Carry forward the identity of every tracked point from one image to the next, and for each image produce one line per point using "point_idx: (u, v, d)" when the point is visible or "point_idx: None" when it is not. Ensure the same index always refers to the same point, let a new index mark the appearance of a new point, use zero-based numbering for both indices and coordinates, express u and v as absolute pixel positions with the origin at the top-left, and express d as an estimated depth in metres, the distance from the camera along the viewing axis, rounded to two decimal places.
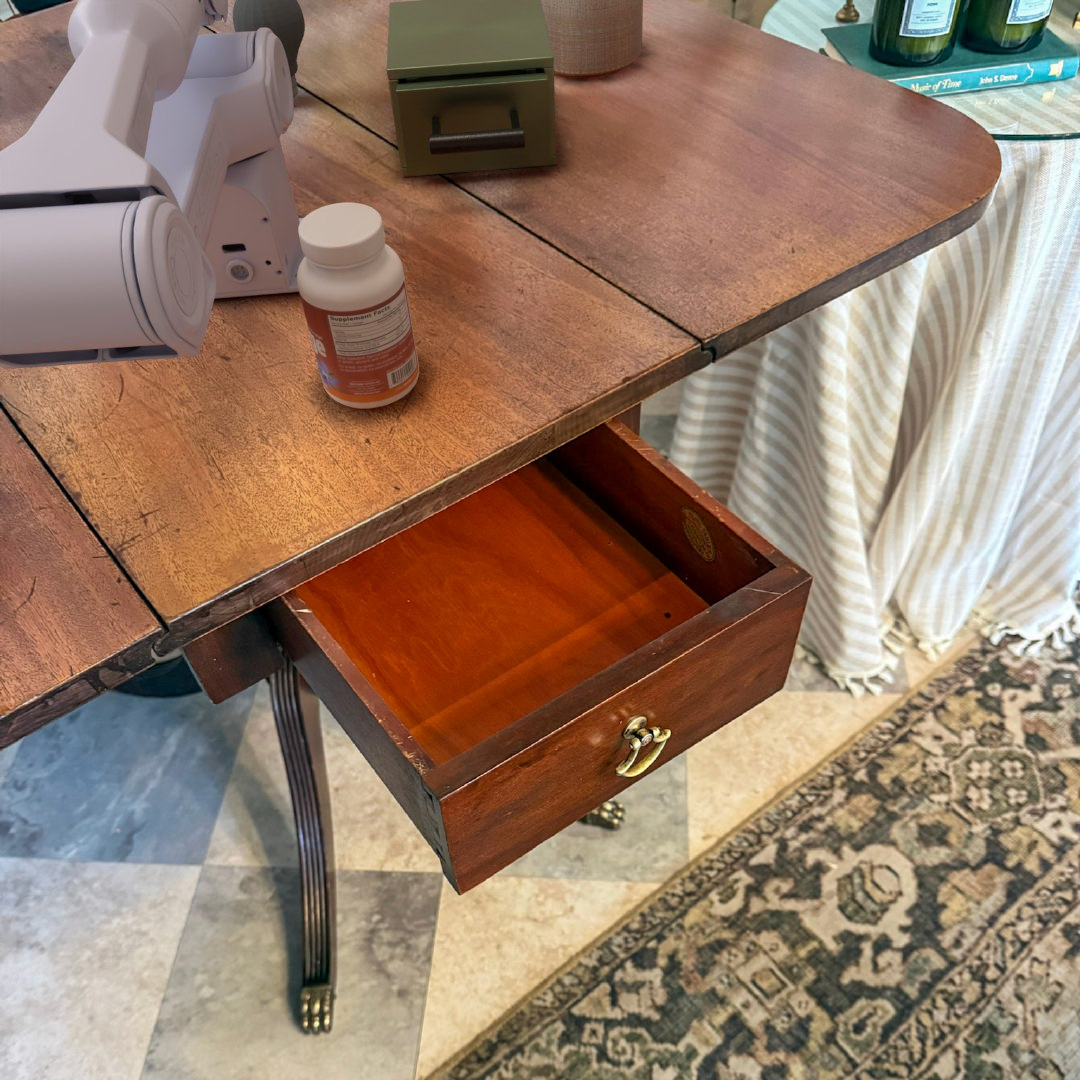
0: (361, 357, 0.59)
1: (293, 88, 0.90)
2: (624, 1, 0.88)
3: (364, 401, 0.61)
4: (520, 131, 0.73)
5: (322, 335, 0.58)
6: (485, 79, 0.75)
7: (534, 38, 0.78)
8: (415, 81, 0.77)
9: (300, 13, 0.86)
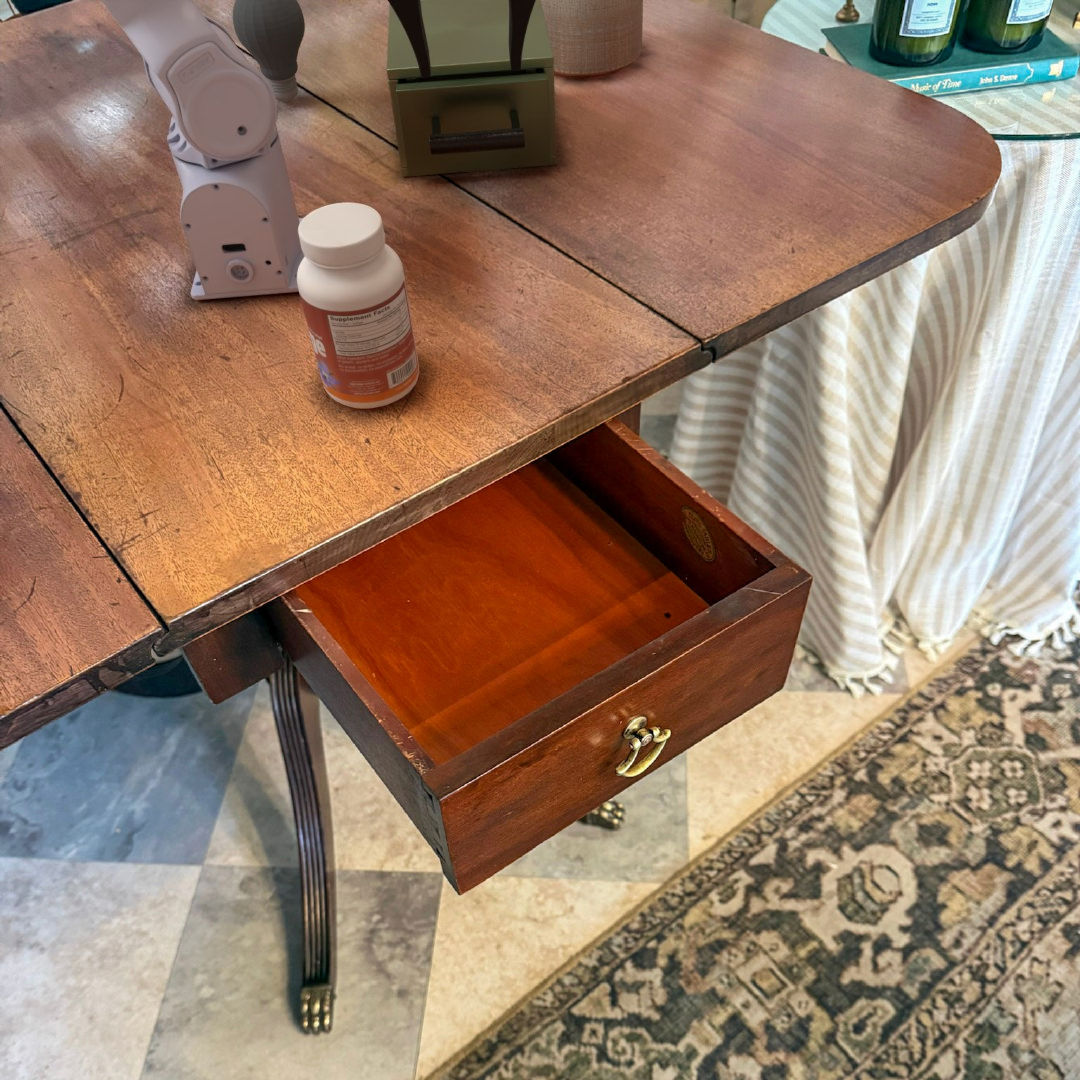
0: (361, 357, 0.59)
1: (293, 88, 0.90)
2: (624, 1, 0.88)
3: (364, 401, 0.61)
4: (520, 131, 0.73)
5: (322, 335, 0.58)
6: (485, 79, 0.75)
7: (534, 38, 0.78)
8: (415, 81, 0.77)
9: (300, 13, 0.86)
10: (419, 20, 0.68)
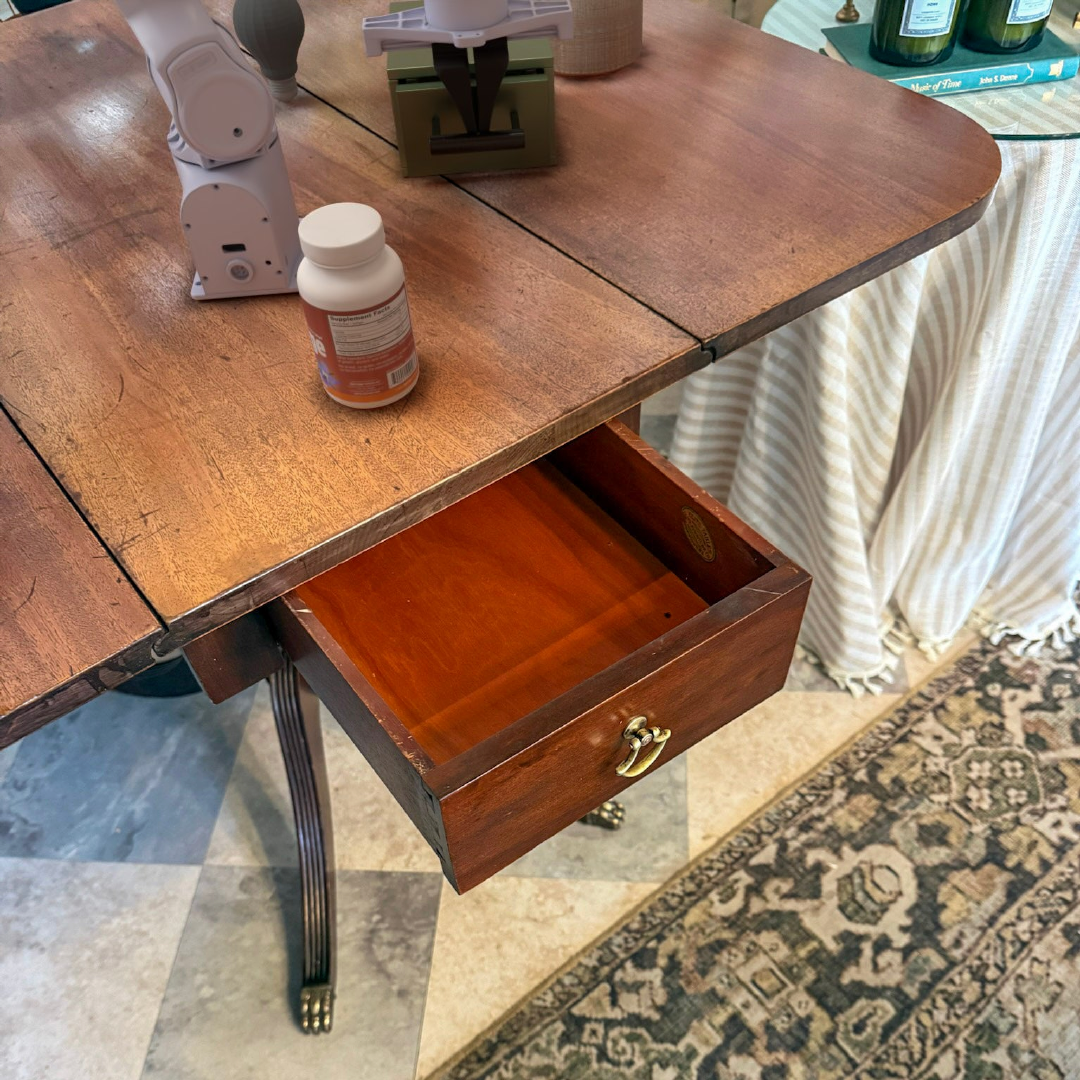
0: (361, 357, 0.59)
1: (293, 88, 0.90)
2: (624, 1, 0.88)
3: (364, 401, 0.61)
4: (520, 132, 0.73)
5: (322, 335, 0.58)
6: None
7: None
8: (415, 82, 0.77)
9: (300, 13, 0.86)
10: (470, 98, 0.72)
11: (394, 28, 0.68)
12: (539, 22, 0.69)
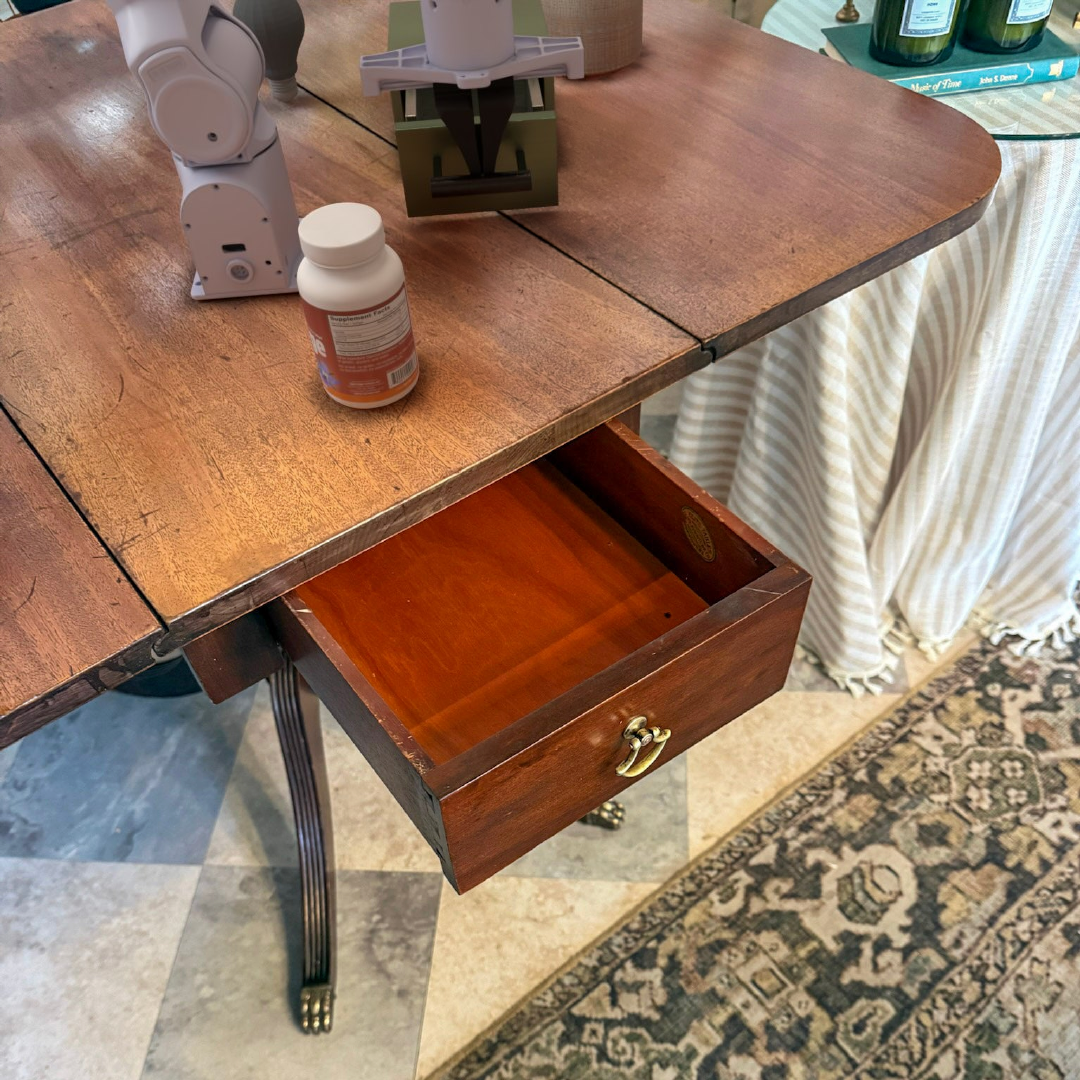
0: (361, 357, 0.59)
1: (293, 88, 0.90)
2: (624, 1, 0.88)
3: (364, 401, 0.61)
4: (527, 174, 0.69)
5: (322, 335, 0.58)
6: None
7: None
8: (415, 119, 0.72)
9: (300, 13, 0.86)
10: (474, 139, 0.68)
11: (393, 67, 0.64)
12: (548, 61, 0.64)
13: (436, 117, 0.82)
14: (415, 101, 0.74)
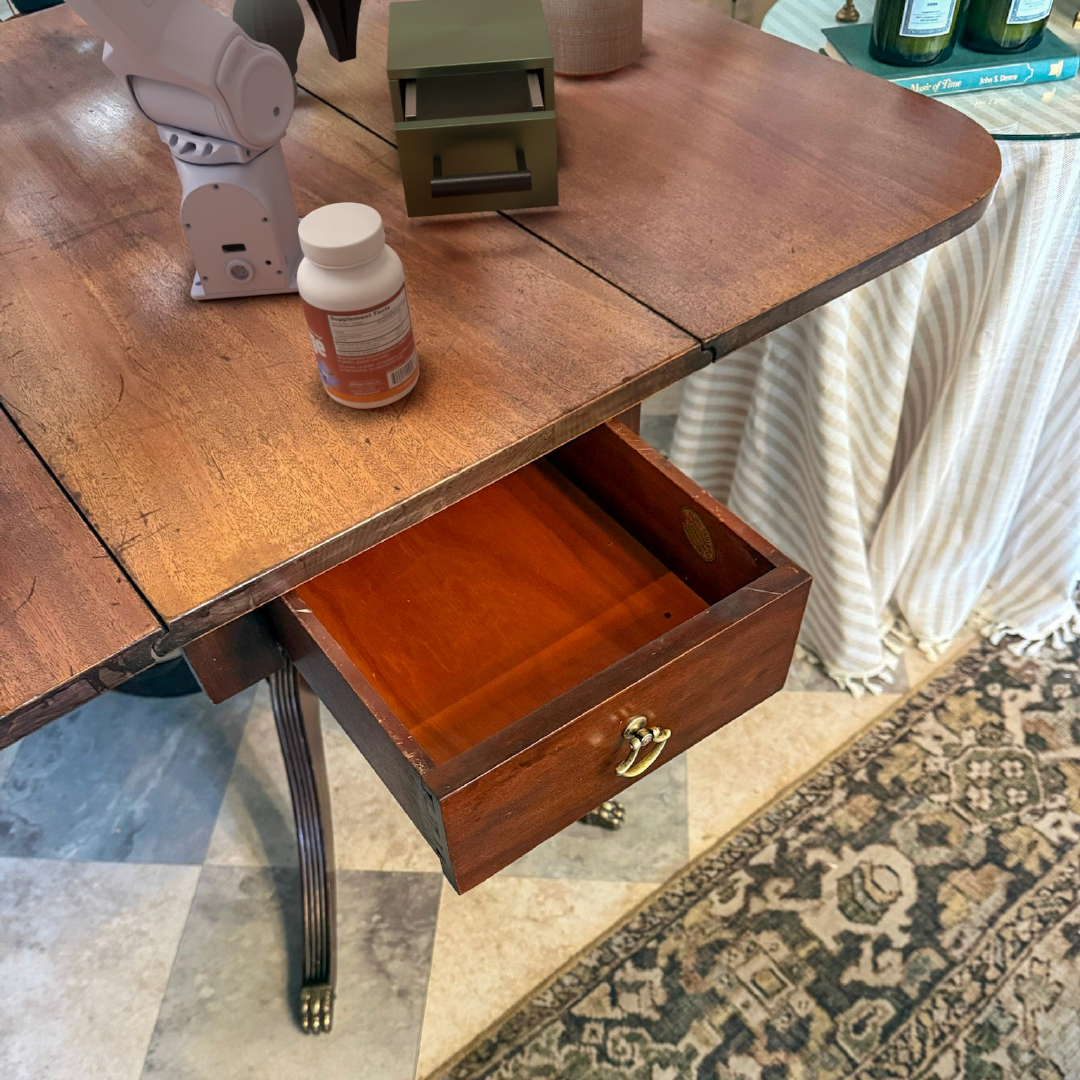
0: (361, 357, 0.59)
1: None
2: (624, 1, 0.88)
3: (364, 401, 0.61)
4: (527, 173, 0.69)
5: (322, 335, 0.58)
6: (489, 117, 0.71)
7: (534, 38, 0.78)
8: (415, 118, 0.72)
9: (300, 13, 0.86)
10: (338, 4, 0.71)
11: None
12: None
13: (436, 117, 0.82)
14: (415, 101, 0.74)
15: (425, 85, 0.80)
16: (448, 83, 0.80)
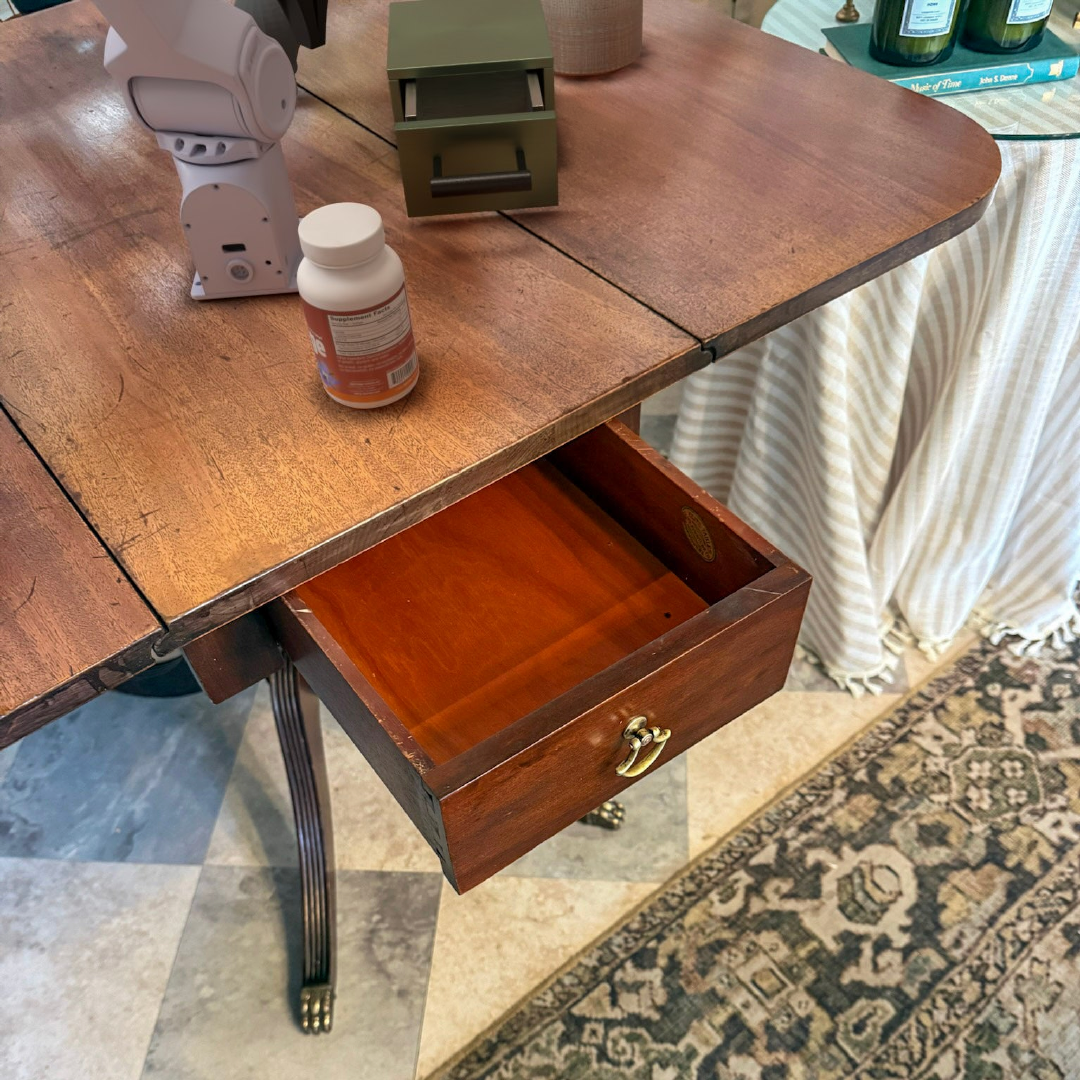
0: (361, 357, 0.59)
1: None
2: (624, 1, 0.88)
3: (364, 401, 0.61)
4: (527, 173, 0.69)
5: (322, 335, 0.58)
6: (489, 117, 0.71)
7: (534, 38, 0.78)
8: (415, 118, 0.72)
9: None
10: None
11: None
12: None
13: (436, 117, 0.82)
14: (415, 101, 0.74)
15: (425, 85, 0.80)
16: (448, 83, 0.80)
